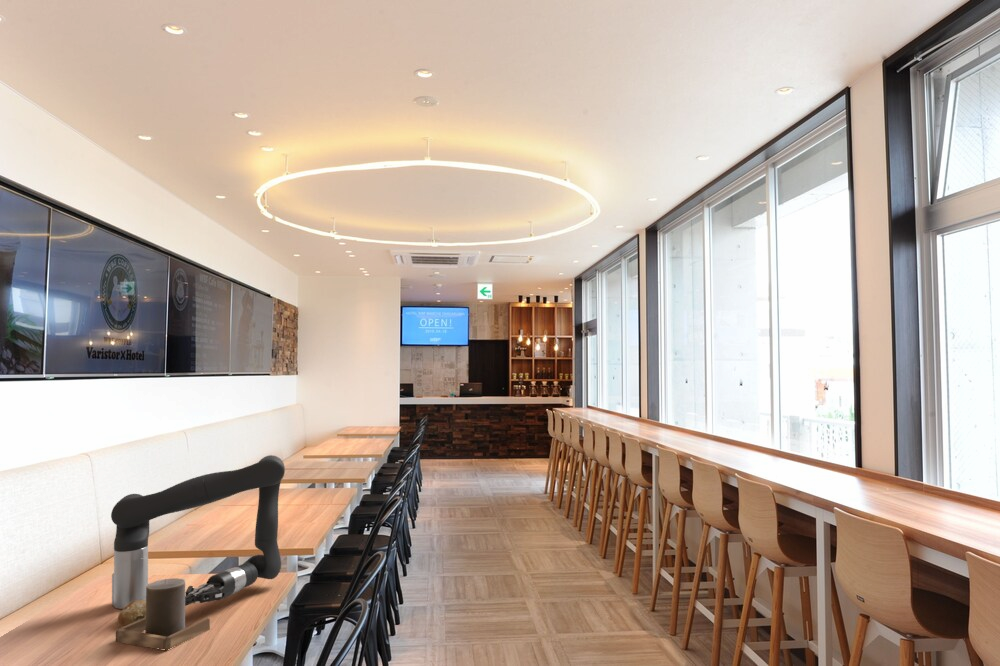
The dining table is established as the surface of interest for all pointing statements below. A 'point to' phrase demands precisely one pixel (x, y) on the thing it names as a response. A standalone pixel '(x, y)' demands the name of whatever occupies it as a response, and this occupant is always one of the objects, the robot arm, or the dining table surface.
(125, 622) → the bread roll
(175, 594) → the pillar candle
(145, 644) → the brown wooden u-shaped frame
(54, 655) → the dining table surface
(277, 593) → the dining table surface
